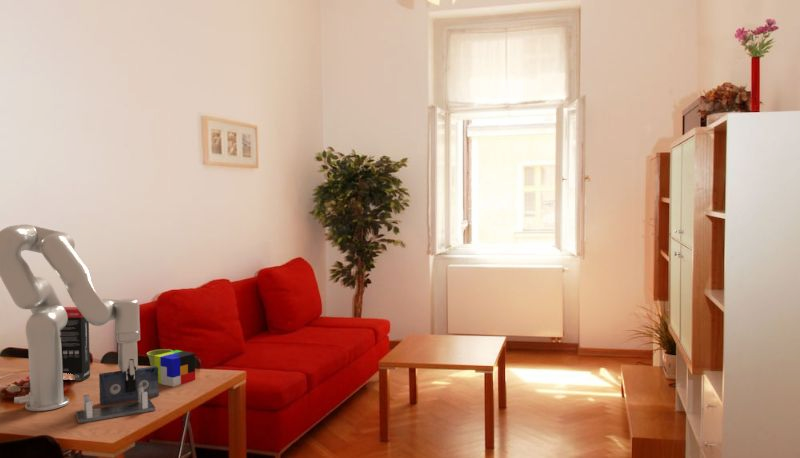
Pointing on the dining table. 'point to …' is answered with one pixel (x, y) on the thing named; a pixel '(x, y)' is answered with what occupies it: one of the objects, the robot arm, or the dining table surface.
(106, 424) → the dining table surface
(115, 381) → the vhs cassette tape
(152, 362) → the plant pot
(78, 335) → the graphics card box
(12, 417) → the dining table surface
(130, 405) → the rack
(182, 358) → the puzzle toy
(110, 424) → the dining table surface
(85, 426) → the dining table surface
